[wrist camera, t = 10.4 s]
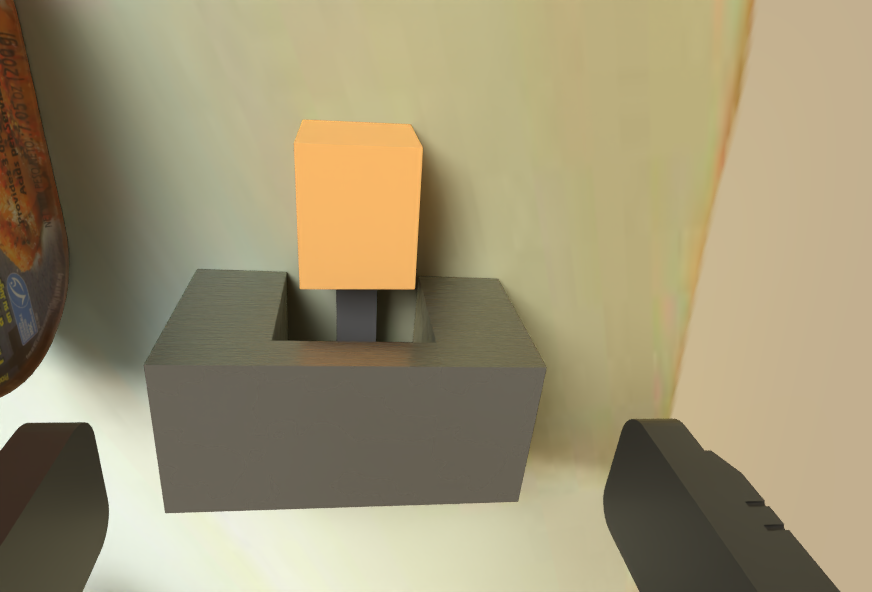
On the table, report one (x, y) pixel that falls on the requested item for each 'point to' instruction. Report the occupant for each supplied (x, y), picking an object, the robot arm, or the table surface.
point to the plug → (357, 215)
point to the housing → (340, 402)
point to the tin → (26, 219)
